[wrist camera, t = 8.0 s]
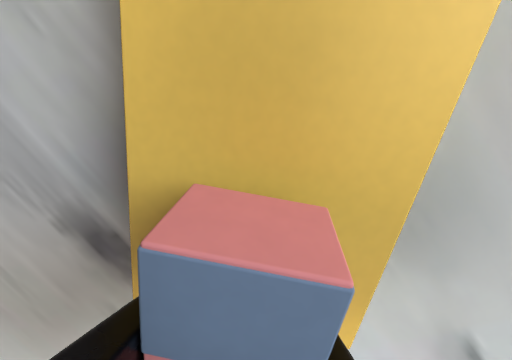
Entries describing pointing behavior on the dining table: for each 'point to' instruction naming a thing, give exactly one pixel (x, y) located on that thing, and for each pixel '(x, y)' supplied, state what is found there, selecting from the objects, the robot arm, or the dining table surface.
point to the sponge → (295, 109)
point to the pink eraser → (241, 279)
